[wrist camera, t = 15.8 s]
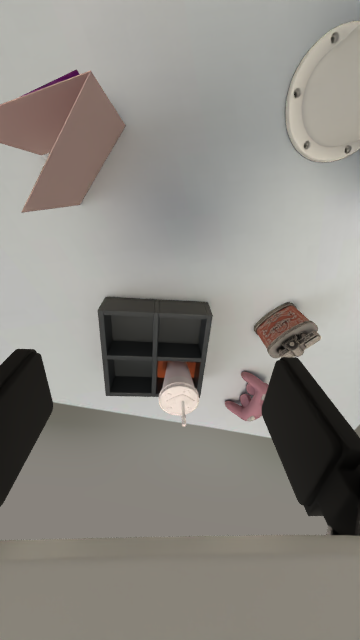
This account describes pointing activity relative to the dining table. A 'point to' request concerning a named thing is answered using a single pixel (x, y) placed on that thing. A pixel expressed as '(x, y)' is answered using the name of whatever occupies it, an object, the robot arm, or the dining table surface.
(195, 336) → the crate
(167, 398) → the smoothie
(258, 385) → the video game controller
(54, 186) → the greeting card
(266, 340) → the lighter
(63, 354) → the dining table surface
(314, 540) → the robot arm
